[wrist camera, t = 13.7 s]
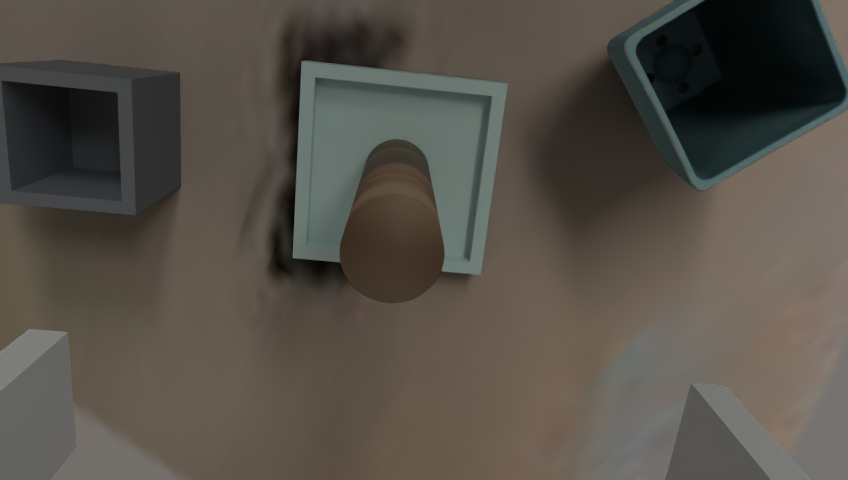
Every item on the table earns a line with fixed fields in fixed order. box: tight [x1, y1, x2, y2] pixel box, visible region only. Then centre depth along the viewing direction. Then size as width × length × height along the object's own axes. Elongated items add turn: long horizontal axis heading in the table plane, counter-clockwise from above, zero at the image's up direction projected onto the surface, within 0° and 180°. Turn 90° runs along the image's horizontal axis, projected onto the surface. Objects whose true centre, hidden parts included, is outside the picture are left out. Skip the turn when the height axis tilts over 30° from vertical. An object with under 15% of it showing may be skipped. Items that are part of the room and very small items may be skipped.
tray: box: [293, 60, 508, 275], centre depth 39 cm, size 12×12×2 cm
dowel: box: [340, 139, 445, 303], centre depth 32 cm, size 4×4×16 cm
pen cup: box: [0, 60, 181, 215], centre depth 35 cm, size 7×7×7 cm
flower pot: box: [607, 0, 848, 191], centre depth 34 cm, size 9×9×9 cm
